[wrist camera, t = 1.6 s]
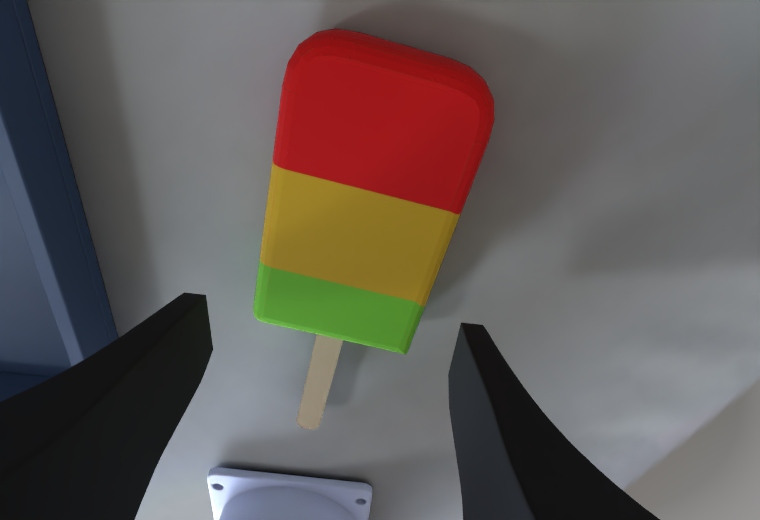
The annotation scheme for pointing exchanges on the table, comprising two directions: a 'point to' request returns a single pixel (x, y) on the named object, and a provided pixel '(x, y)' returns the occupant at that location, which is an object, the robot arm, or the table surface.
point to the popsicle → (364, 193)
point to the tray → (40, 227)
